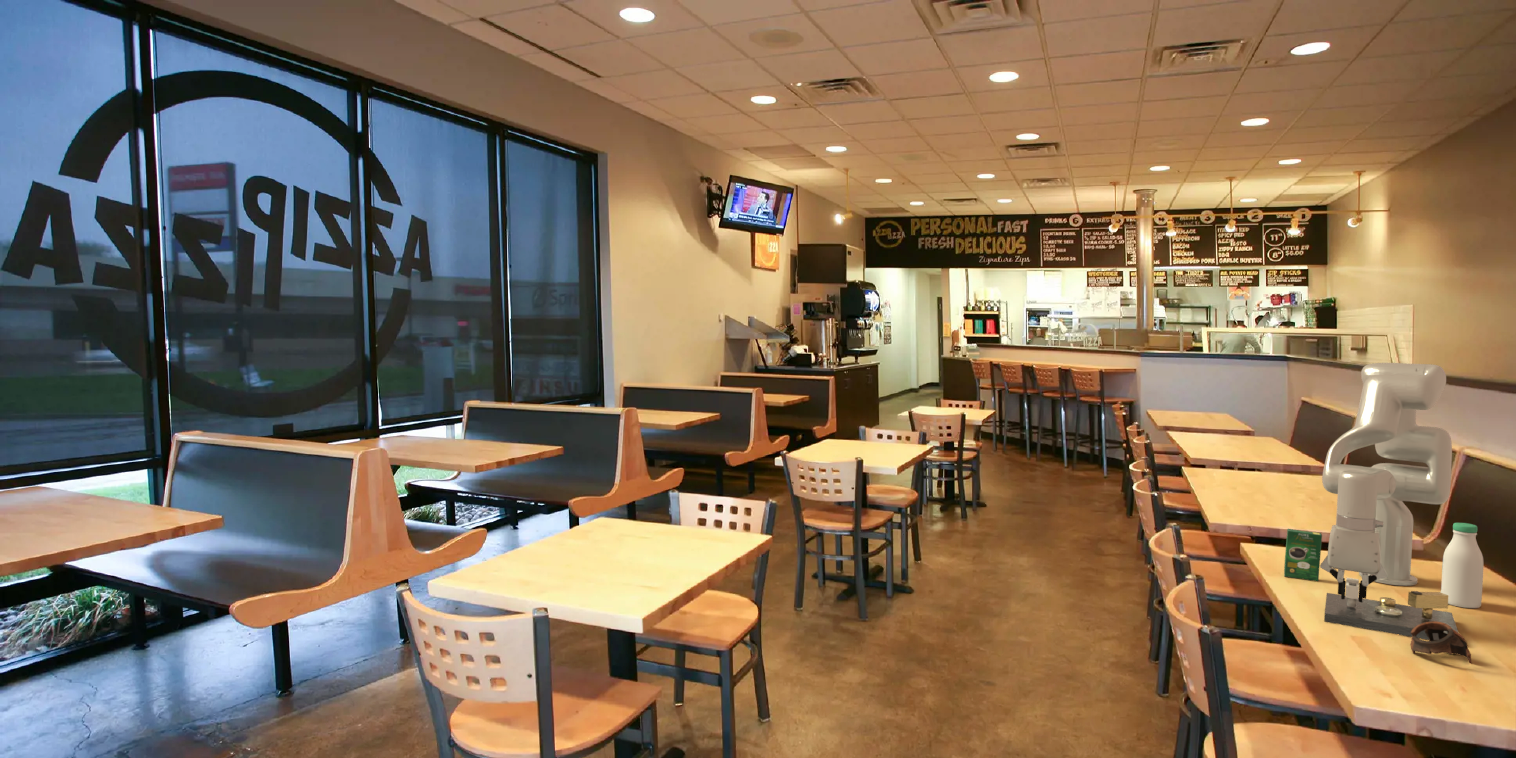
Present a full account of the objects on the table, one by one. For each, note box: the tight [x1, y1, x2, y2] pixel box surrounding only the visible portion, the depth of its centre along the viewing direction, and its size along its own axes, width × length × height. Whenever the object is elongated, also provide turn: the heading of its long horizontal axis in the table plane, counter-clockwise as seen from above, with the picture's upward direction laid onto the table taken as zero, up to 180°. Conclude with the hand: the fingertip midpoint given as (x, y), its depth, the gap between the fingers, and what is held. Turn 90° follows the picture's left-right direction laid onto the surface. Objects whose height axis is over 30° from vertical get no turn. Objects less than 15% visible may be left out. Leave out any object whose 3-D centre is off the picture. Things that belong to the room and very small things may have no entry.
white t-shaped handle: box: [1345, 577, 1360, 607], centre depth 195 cm, size 7×2×6 cm, turn 144°
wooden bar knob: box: [1407, 590, 1449, 619], centre depth 187 cm, size 7×2×6 cm, turn 88°
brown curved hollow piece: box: [1409, 621, 1473, 664], centre depth 172 cm, size 12×10×8 cm
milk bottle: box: [1440, 522, 1484, 609], centre depth 203 cm, size 8×8×20 cm
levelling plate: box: [1323, 592, 1459, 641], centre depth 191 cm, size 18×24×4 cm
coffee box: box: [1283, 528, 1323, 582], centre depth 223 cm, size 8×3×13 cm, turn 58°
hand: (1351, 598), depth 195 cm, fingers open, 2 cm apart
